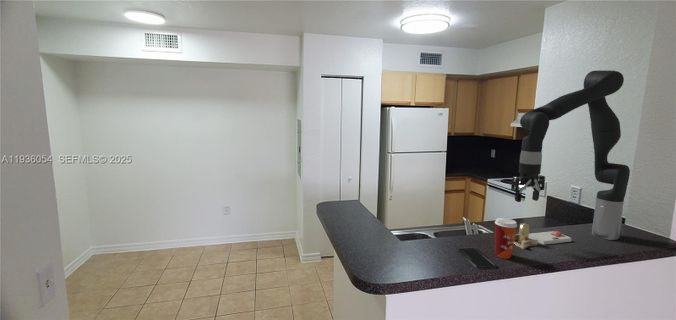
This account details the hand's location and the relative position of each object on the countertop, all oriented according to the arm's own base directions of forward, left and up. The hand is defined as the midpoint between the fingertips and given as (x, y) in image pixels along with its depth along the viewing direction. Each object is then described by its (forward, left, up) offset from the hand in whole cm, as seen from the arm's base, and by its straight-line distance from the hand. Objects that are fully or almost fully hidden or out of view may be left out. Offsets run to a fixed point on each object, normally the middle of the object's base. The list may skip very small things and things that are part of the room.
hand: (526, 200), depth 128 cm
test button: (-18, 0, -18) cm, 26 cm away
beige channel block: (0, 0, -19) cm, 19 cm away
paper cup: (+16, +7, -19) cm, 26 cm away
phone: (+28, +7, -19) cm, 35 cm away
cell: (0, 0, -18) cm, 18 cm away
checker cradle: (-13, 0, -19) cm, 23 cm away
